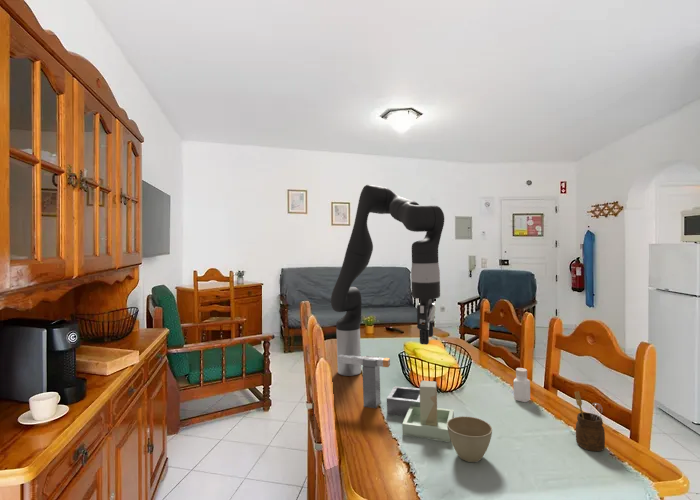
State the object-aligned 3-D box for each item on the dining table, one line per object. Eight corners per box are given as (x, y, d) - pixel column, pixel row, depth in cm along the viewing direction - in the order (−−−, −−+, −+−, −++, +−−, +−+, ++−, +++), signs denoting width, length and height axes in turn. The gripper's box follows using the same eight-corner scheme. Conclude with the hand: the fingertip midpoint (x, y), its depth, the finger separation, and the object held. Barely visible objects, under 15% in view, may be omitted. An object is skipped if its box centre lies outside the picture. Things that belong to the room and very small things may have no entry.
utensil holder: (594, 454, 87) (593, 403, 87) (569, 442, 93) (568, 393, 93) (611, 448, 90) (610, 398, 90) (585, 436, 96) (584, 389, 95)
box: (436, 429, 100) (435, 388, 100) (420, 428, 101) (419, 386, 101) (437, 420, 105) (436, 380, 105) (422, 419, 106) (420, 379, 106)
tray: (411, 415, 110) (410, 404, 110) (453, 420, 106) (453, 409, 106) (402, 435, 99) (402, 423, 99) (449, 442, 95) (449, 430, 95)
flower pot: (487, 473, 82) (486, 440, 81) (442, 461, 87) (441, 430, 87) (496, 451, 90) (496, 421, 90) (454, 441, 95) (454, 412, 95)
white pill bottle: (530, 399, 119) (530, 369, 118) (526, 403, 116) (525, 372, 115) (517, 396, 121) (517, 366, 121) (513, 400, 118) (512, 369, 118)
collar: (394, 400, 121) (394, 386, 121) (426, 403, 118) (425, 389, 118) (387, 413, 112) (386, 398, 112) (420, 417, 108) (420, 402, 108)
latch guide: (368, 400, 121) (367, 355, 121) (380, 401, 120) (379, 356, 120) (363, 406, 117) (362, 359, 116) (376, 408, 115) (374, 361, 115)
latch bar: (340, 360, 123) (340, 354, 123) (390, 364, 117) (389, 358, 117) (337, 363, 121) (337, 356, 121) (388, 367, 115) (387, 360, 115)
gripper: (436, 282, 94) (437, 348, 94) (442, 277, 107) (444, 334, 107) (406, 282, 96) (407, 346, 97) (416, 277, 110) (417, 333, 110)
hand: (426, 339), depth 102 cm, fingers open, 8 cm apart
